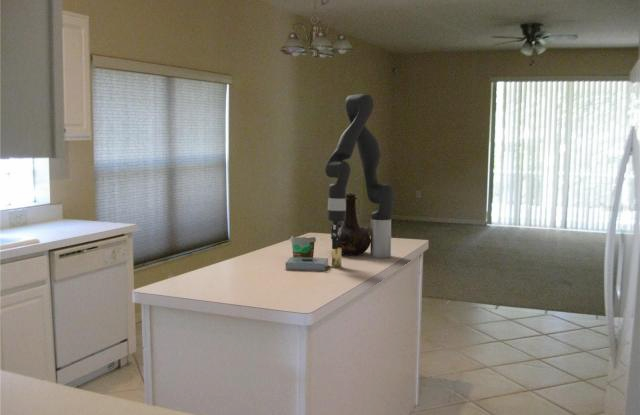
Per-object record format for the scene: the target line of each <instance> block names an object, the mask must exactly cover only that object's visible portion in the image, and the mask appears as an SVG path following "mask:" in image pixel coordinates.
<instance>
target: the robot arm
mask: <svg viewBox="0 0 640 415" xmlns="http://www.w3.org/2000/svg"><path fill="white" fill-rule="evenodd" d="M374 104H375V103H374V99H373V97H372V95H370V94H369V93H359V94H350V95H348V96H347V97H346V98H345V111H346V115H347V116H348V120H349V122H350V125H348V126H347V128H346V129H345V130H344V131H343V133H342V134H341V135H340V137H339V139H338V143H337V144H336V147H335V150H334V151H333V153H332V155H331V156H330V157H329V159H328V160H327V162H326V164H325V168H324V171H325V175H326V176H327V177H329V178H334V179H335V178H336V180H337V181H336V182H335V183H330V185H329V187H328V201H327V220H328V221H332V224H331V225H330V226H331V227H330V229H331V231H330V234H331V235H330V236H331V237H330V238H331V250H332V249H337V248H338V246H340V237H341V228H342V226H343V224H342V222H344V221H345V220H346V194H347V192H346V190H347V186H348V182H349V178H350V176H351V166H350V164H349V163H348V161H347V160H349V159H350V158H351V157H352V154H353V152H354V149H355V147H356V145H357V151H358V155H359V159H360V163H361V166H362V170H363V177H364V182H365V188H366V194H367V198H368V200H369V202H370V203H371V204H375V205H376V204H377V205H379V207H378V209H377V210H375V211H373V212H371V214H370V239H371V242H370V250H369V251H370V252H369V253H370V257H371V258H376V259H377V258H378V259H387V258H390V259H391V257H392V216H393V213H394V212H393V211H394V203H395V202H394V200H395V199H394V198H395V193H394V188H393V186H392V185H391V184H387V183H380V182H379V180H378V175H377V174H378V173H377V170H378V167H379V166H380V163H381V162H380V161H381V155H382V154H381V150H380V146H379V142H378V140H377V138H376V137H375V135H374V134H373V133H372V132H371V131H370V130H369V128H368V127H367V125H366V124H367V122H368V120H369V118H370V116H371V115H372V113H373V109H374V107H375V106H374Z"/></svg>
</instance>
